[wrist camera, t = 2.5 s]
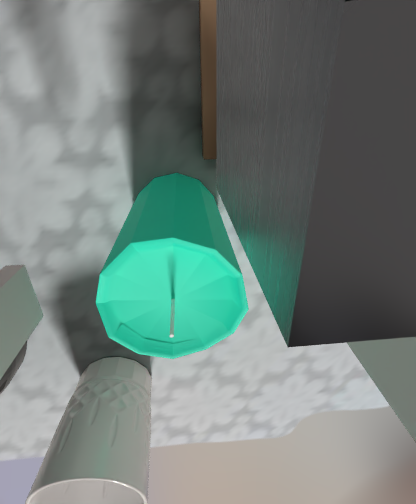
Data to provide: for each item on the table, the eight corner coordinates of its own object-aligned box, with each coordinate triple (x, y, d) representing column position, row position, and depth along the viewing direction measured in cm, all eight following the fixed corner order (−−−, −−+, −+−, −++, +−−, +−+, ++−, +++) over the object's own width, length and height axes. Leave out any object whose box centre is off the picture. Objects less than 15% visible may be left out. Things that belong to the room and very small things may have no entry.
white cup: (75, 347, 25) (18, 478, 16) (162, 354, 26) (153, 478, 18) (75, 402, 29) (28, 535, 20) (152, 406, 30) (141, 531, 21)
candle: (220, 174, 19) (271, 260, 8) (214, 251, 22) (246, 389, 11) (131, 170, 18) (63, 258, 8) (136, 250, 21) (92, 395, 11)
